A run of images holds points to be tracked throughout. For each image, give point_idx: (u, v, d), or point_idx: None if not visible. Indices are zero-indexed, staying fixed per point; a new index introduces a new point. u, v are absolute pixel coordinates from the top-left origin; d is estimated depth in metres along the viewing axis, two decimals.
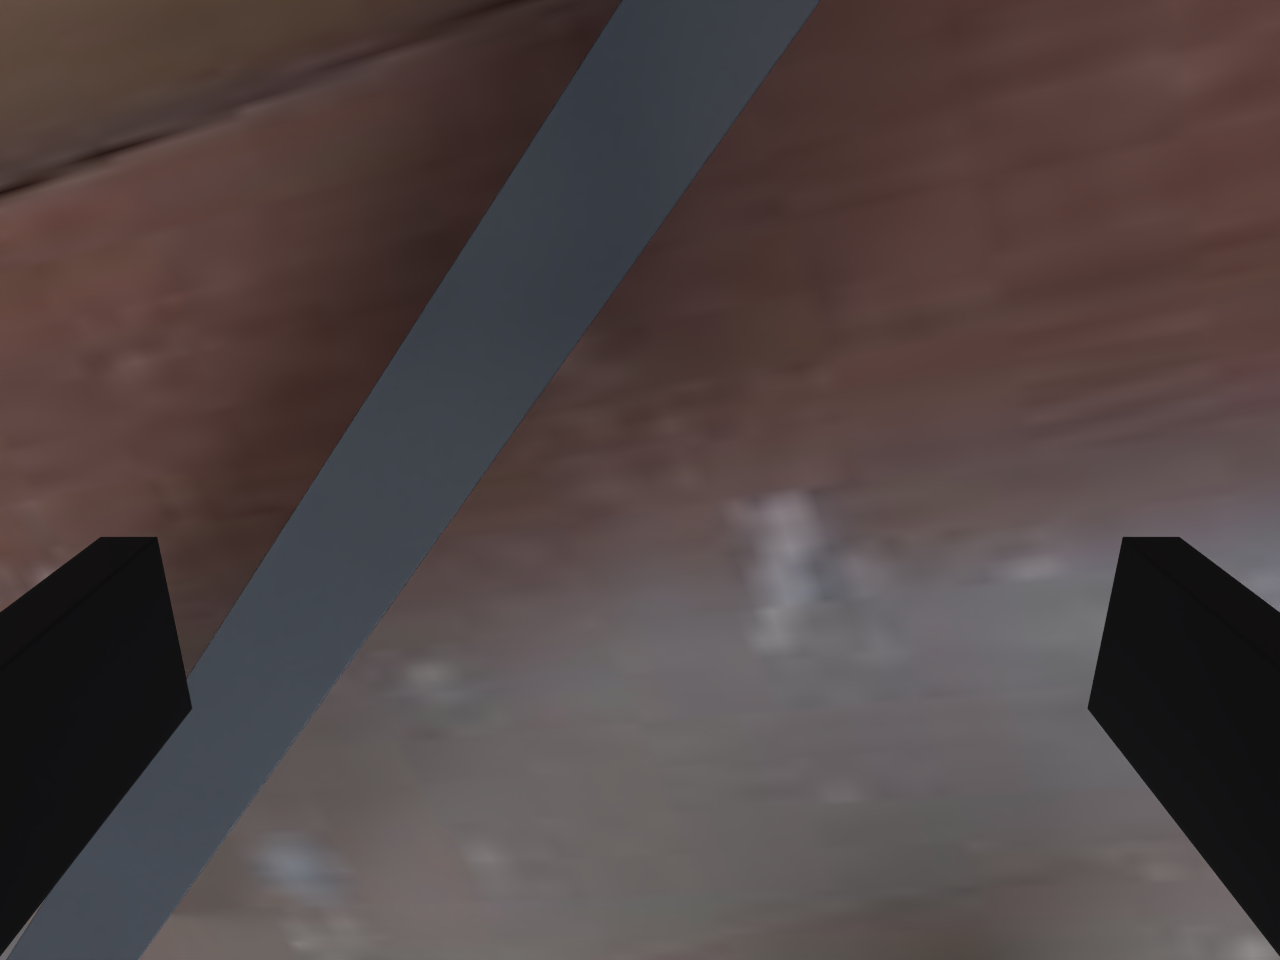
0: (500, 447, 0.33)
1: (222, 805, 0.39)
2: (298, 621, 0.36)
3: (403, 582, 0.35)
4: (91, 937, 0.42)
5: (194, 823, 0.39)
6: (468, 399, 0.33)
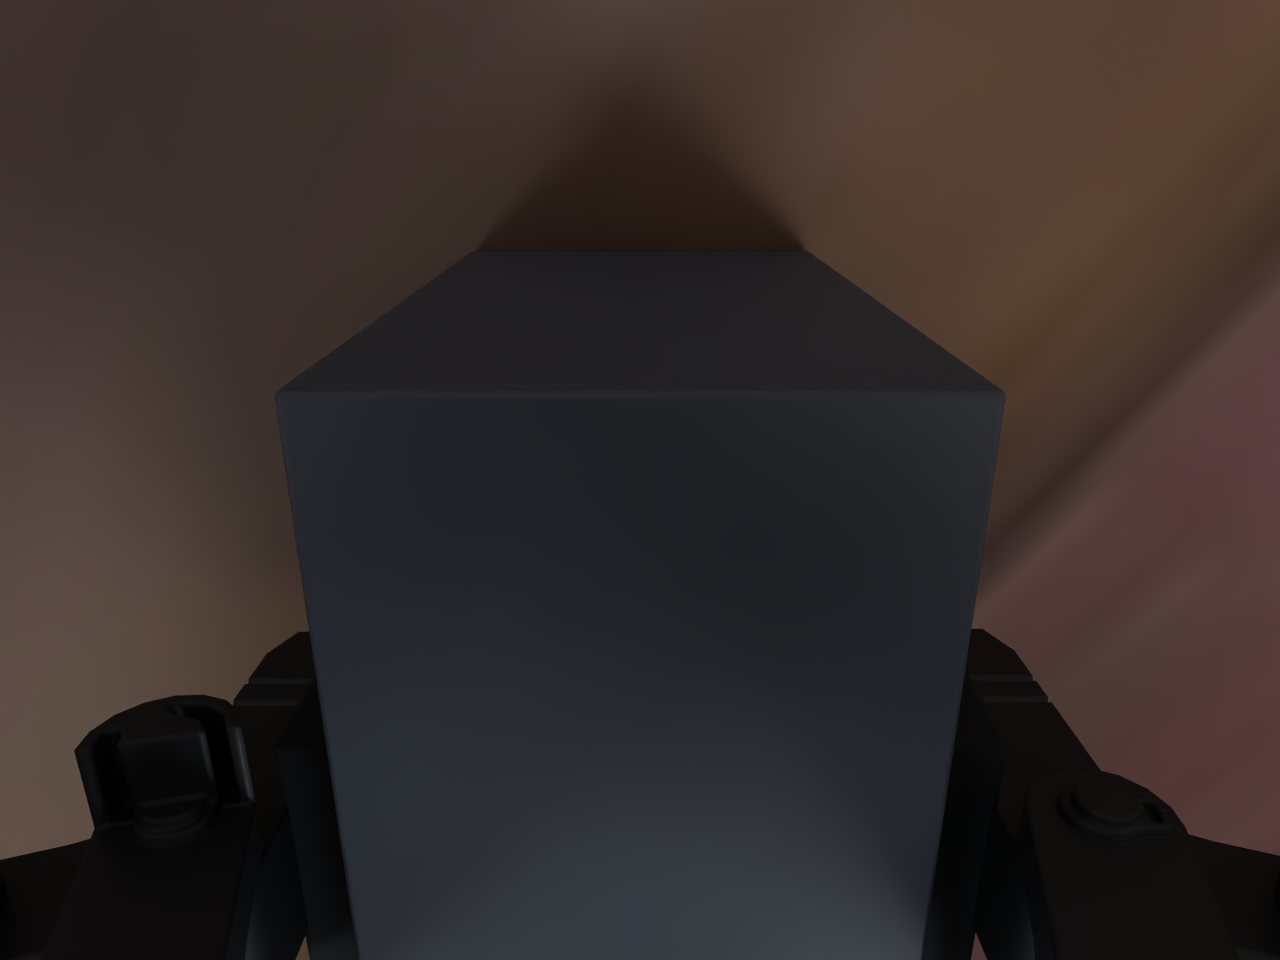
0: None
1: None
2: None
3: None
4: None
5: None
6: None
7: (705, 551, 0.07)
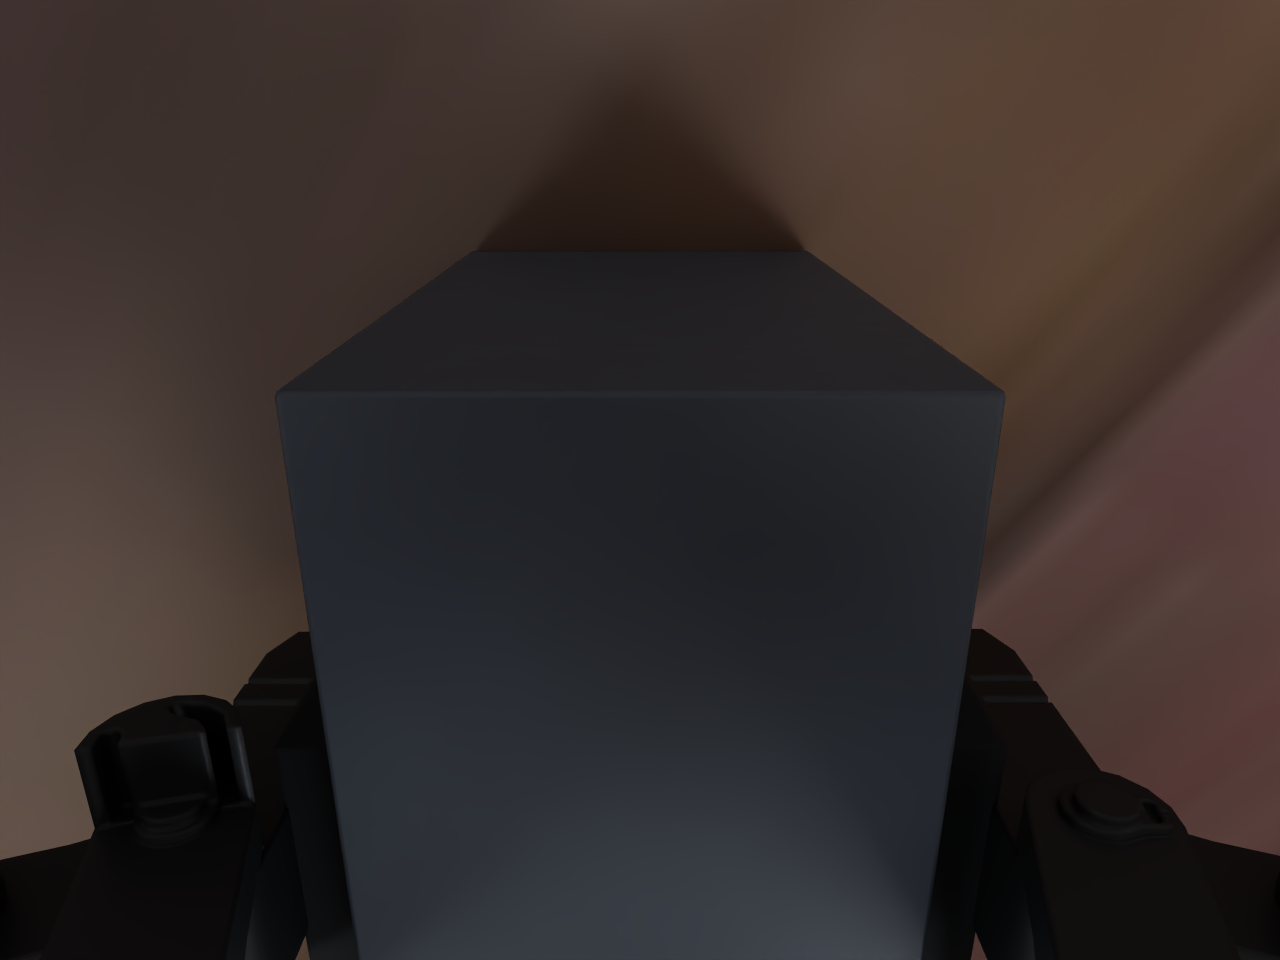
0: None
1: None
2: None
3: None
4: None
5: None
6: None
7: (705, 552, 0.07)
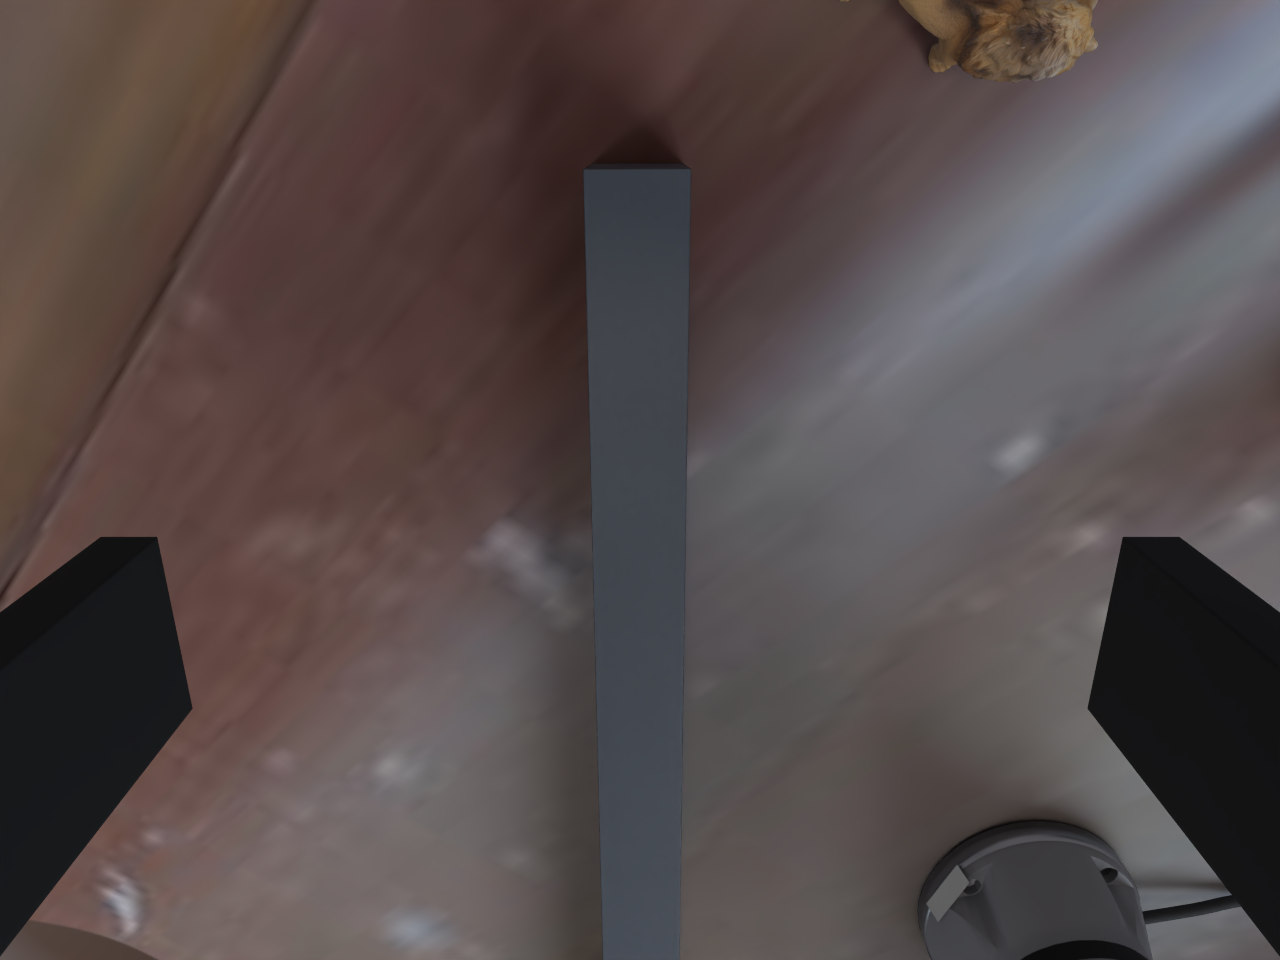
0: (680, 790, 0.54)
1: None
2: (640, 928, 0.58)
3: (678, 880, 0.57)
4: None
5: None
6: (648, 779, 0.54)
7: (647, 195, 0.42)
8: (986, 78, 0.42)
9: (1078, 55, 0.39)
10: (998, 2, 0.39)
